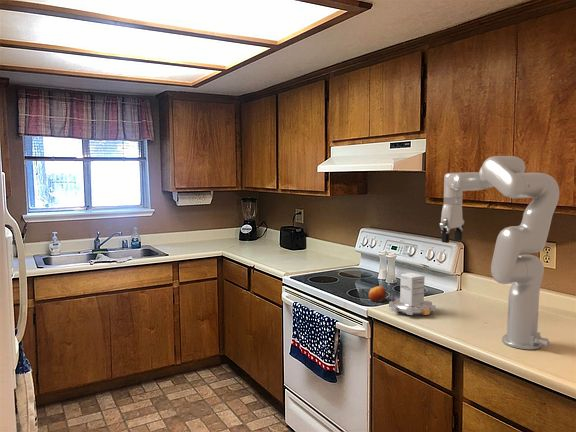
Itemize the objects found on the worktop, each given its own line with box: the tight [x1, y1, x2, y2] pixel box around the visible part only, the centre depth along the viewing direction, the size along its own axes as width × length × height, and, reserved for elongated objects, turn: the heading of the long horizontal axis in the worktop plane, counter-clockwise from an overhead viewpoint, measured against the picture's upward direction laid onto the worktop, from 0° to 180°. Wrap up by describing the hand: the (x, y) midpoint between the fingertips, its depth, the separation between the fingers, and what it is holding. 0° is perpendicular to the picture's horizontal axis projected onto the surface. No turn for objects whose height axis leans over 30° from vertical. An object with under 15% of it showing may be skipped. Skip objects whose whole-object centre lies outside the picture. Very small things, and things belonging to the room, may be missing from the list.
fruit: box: [368, 285, 387, 303], centre depth 218 cm, size 8×8×8 cm
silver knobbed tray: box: [388, 297, 437, 316], centre depth 200 cm, size 19×19×7 cm
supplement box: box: [399, 272, 425, 306], centre depth 200 cm, size 7×7×13 cm
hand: (451, 241), depth 200 cm, fingers open, 9 cm apart
